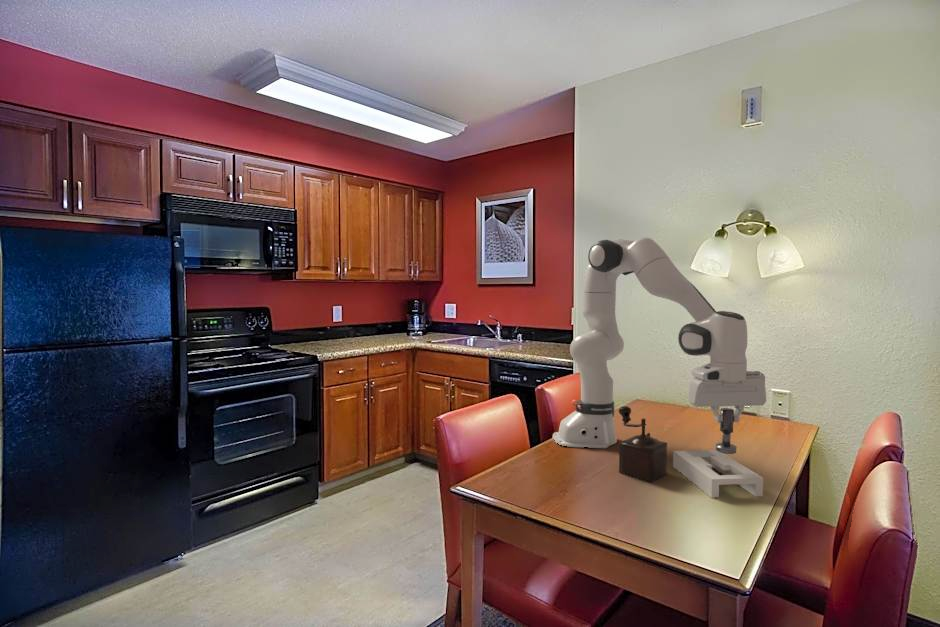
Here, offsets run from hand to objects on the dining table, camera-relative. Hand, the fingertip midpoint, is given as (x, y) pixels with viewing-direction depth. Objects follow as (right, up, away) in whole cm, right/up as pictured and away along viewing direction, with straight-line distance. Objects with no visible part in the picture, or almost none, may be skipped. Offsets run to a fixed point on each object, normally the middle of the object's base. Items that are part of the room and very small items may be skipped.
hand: (726, 421), depth 138 cm
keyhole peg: (0, -8, 0) cm, 8 cm away
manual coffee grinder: (-20, -18, +14) cm, 31 cm away
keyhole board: (0, -18, +6) cm, 19 cm away
